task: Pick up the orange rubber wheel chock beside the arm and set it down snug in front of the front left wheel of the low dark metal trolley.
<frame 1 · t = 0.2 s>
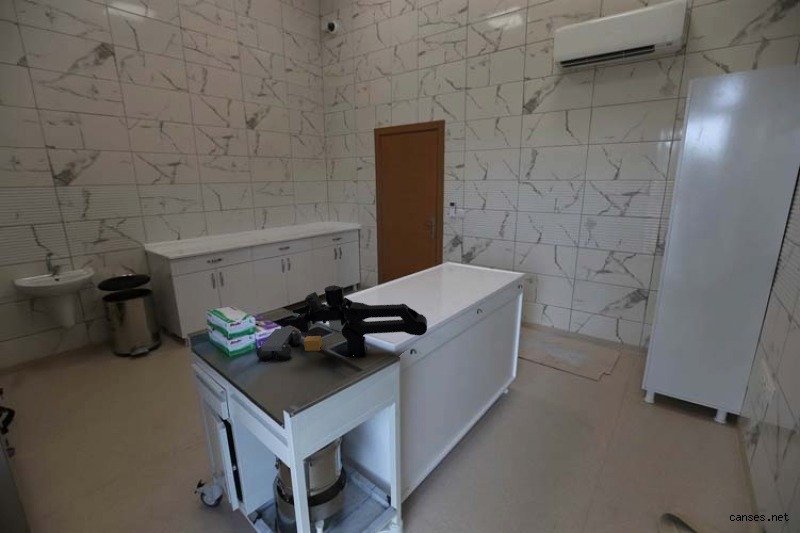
hand: (288, 316, 140), 17 cm above the cart top, tool horizontal, fingers open, 9 cm apart
supplement box: (340, 327, 166), on the cart top
chock: (313, 348, 148), on the cart top
trolley: (280, 351, 147), on the cart top
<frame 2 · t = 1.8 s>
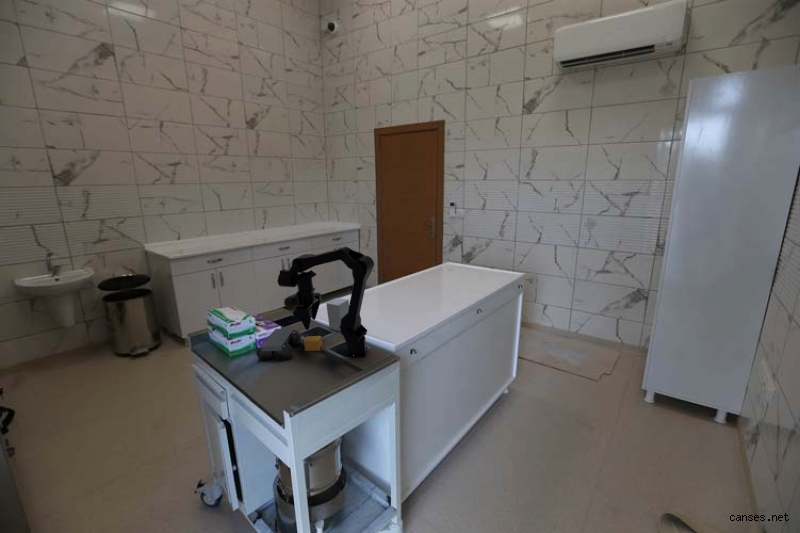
hand: (310, 324, 145), 11 cm above the cart top, tool pointing down, fingers open, 9 cm apart
nothing on the cart top moved.
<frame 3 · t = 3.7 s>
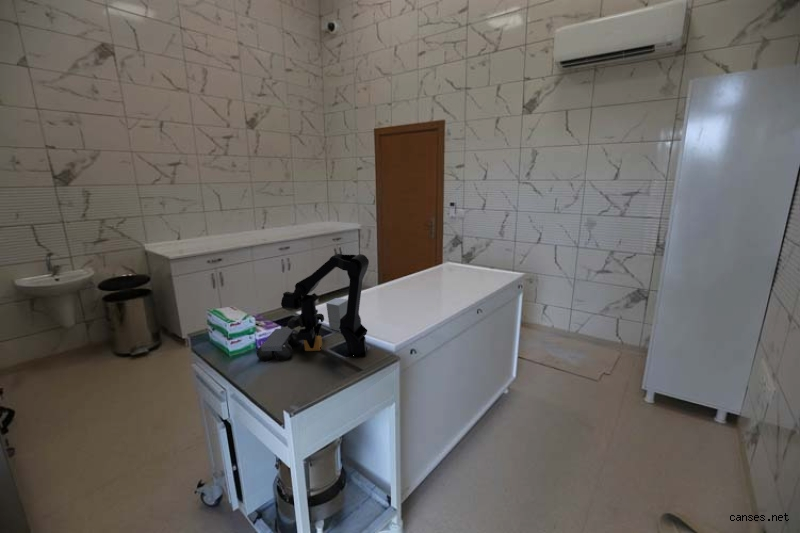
hand: (313, 345, 148), 1 cm above the cart top, tool pointing down, fingers closed on chock, 4 cm apart
chock: (313, 348, 148), on the cart top, touching gripper
everything else where it was.
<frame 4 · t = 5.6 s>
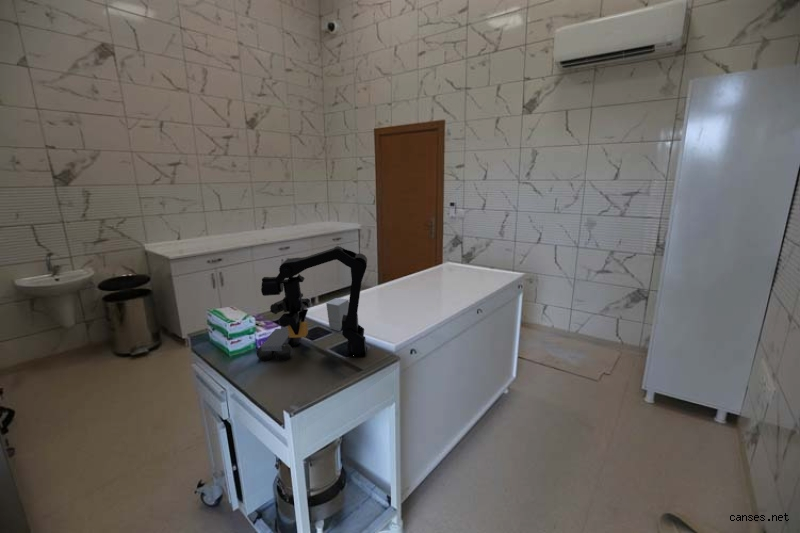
hand: (298, 331, 139), 11 cm above the cart top, tool pointing down, fingers closed on chock, 4 cm apart
chock: (299, 334, 139), point 10 cm above the cart top, touching gripper
everything else where it was.
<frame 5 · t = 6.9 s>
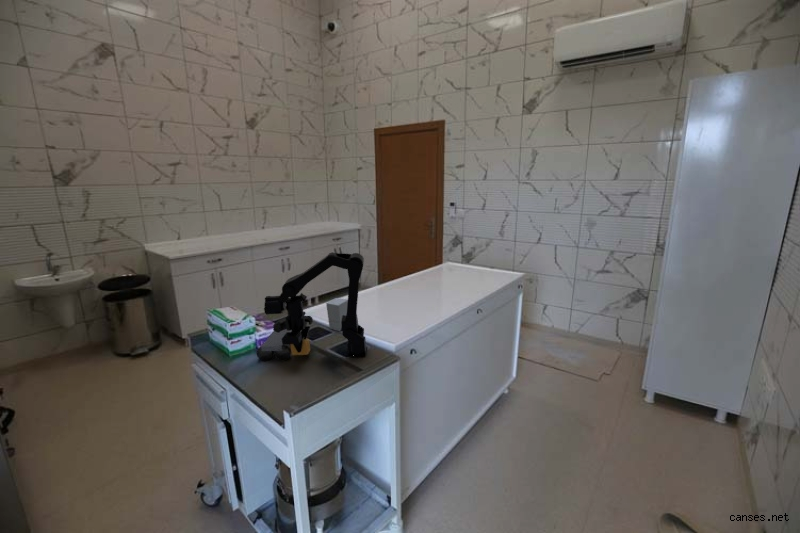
hand: (301, 349, 140), 4 cm above the cart top, tool pointing down, fingers closed on chock, 4 cm apart
chock: (301, 352, 141), point 2 cm above the cart top, touching gripper
everything else where it was.
when the fingers open (3 cm above the cart top, at t = 7.6 s): chock drops 2 cm, on the cart top.
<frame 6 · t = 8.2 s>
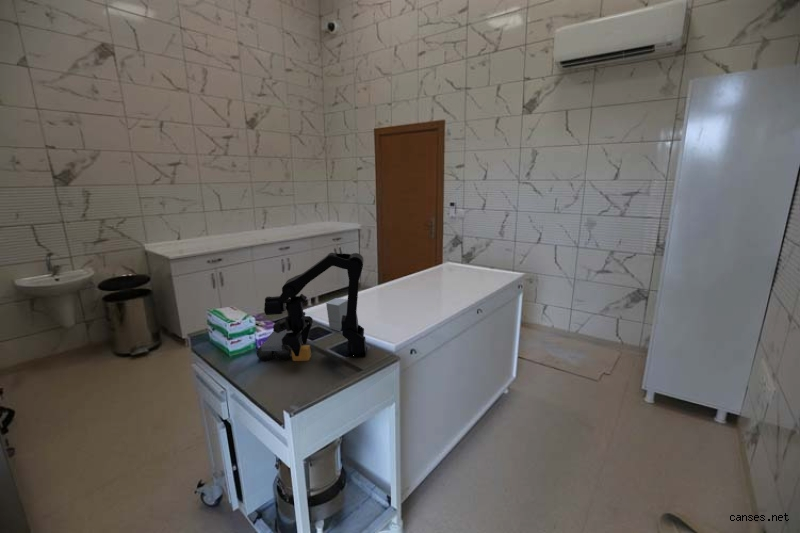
hand: (301, 349, 140), 3 cm above the cart top, tool pointing down, fingers open, 9 cm apart
chock: (302, 358, 141), on the cart top
everything else where it was.
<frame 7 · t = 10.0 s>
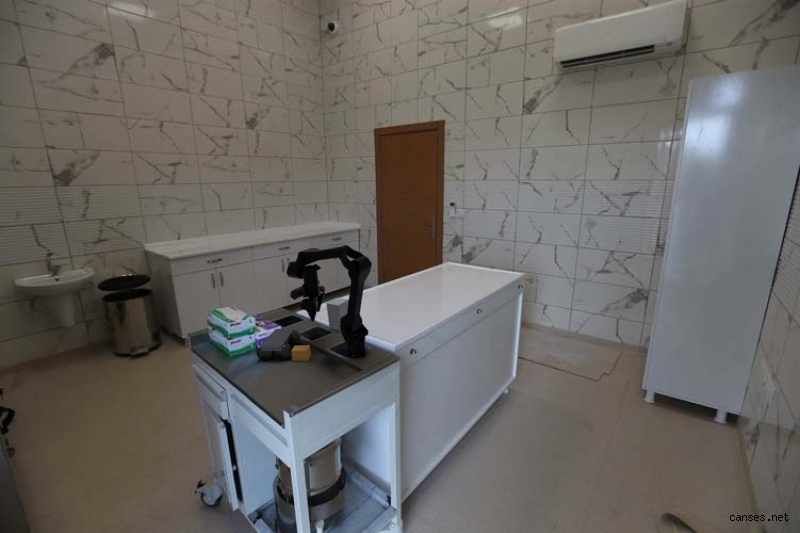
hand: (315, 316, 149), 12 cm above the cart top, tool pointing down, fingers open, 9 cm apart
nothing on the cart top moved.
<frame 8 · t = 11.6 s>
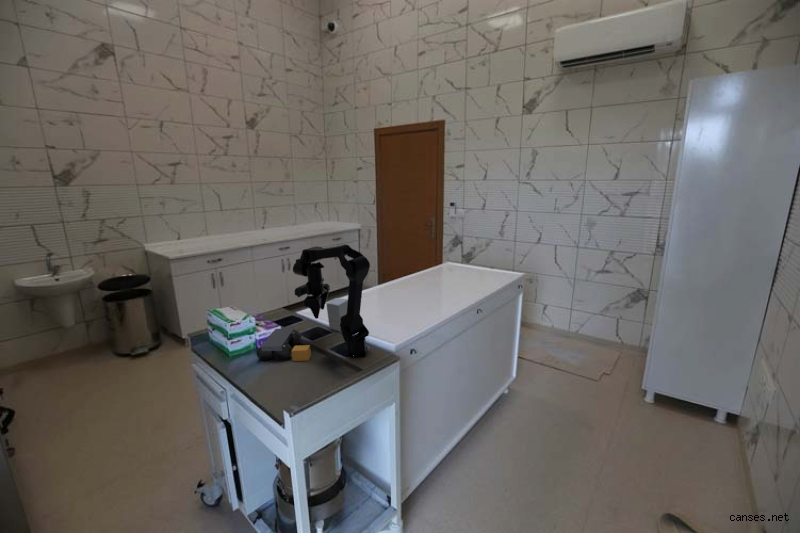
hand: (319, 313, 152), 12 cm above the cart top, tool pointing down, fingers open, 9 cm apart
nothing on the cart top moved.
at the end: chock 0.2 cm from the target spot on the cart top beside the trolley, on the cart top; chock tilted 0°; the gripper is holding nothing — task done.
